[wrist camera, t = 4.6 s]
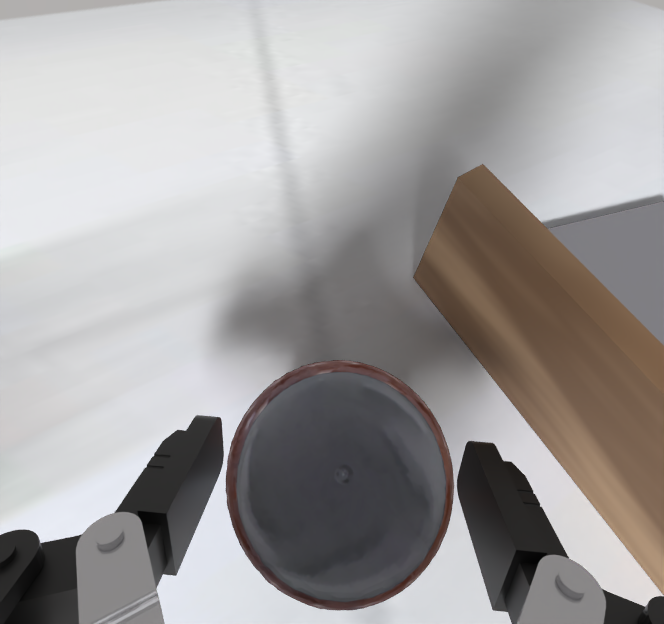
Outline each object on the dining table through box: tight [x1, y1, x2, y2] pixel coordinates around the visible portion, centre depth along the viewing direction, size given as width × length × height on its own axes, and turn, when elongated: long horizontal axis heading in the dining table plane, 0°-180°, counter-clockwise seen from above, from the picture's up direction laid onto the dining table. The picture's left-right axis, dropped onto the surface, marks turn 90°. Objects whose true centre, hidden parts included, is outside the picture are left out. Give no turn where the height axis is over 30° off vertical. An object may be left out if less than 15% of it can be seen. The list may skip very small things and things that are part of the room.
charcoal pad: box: [548, 201, 664, 345], centre depth 20 cm, size 11×11×1 cm
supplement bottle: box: [226, 360, 454, 610], centre depth 12 cm, size 6×6×11 cm
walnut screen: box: [413, 164, 664, 595], centre depth 15 cm, size 1×18×8 cm, turn 32°
